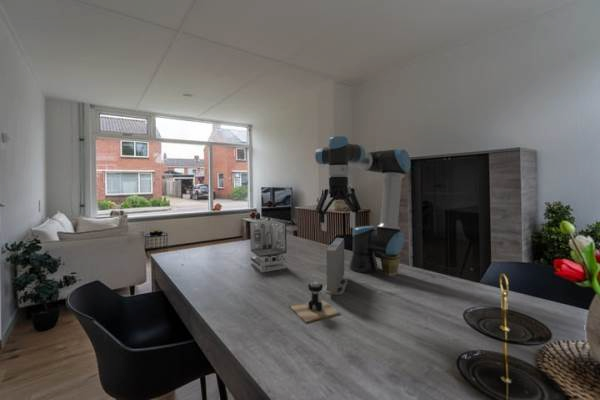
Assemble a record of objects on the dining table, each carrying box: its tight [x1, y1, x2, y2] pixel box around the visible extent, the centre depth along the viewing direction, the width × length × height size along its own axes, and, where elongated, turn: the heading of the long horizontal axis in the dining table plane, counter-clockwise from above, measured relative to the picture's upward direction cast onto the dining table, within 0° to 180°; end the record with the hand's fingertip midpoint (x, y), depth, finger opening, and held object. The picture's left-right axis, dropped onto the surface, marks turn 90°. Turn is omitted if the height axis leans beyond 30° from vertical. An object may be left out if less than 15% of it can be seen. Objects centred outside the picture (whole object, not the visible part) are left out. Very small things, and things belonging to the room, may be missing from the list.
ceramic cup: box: [379, 253, 401, 277], centre depth 144 cm, size 13×10×10 cm
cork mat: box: [288, 297, 341, 324], centre depth 103 cm, size 14×14×1 cm
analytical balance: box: [249, 220, 288, 273], centre depth 156 cm, size 16×19×25 cm
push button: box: [306, 280, 323, 311], centre depth 103 cm, size 7×5×10 cm
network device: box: [323, 237, 348, 295], centre depth 126 cm, size 26×9×20 cm, turn 163°
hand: (338, 229), depth 111 cm, fingers open, 13 cm apart
